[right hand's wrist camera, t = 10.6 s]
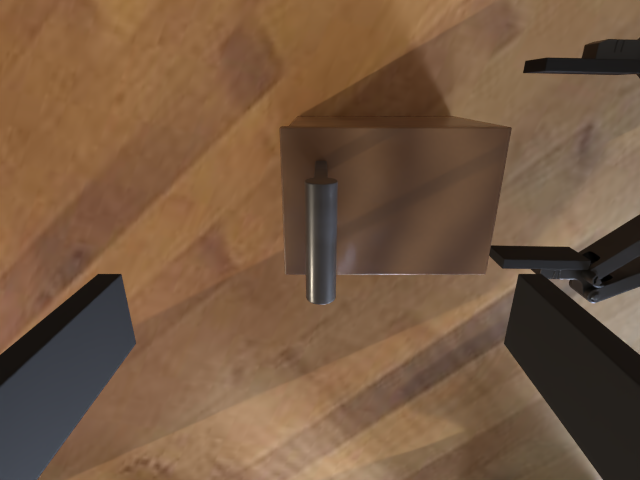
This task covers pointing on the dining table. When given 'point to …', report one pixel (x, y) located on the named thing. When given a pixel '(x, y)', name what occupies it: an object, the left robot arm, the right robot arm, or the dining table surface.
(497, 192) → the lid
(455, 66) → the dining table surface
